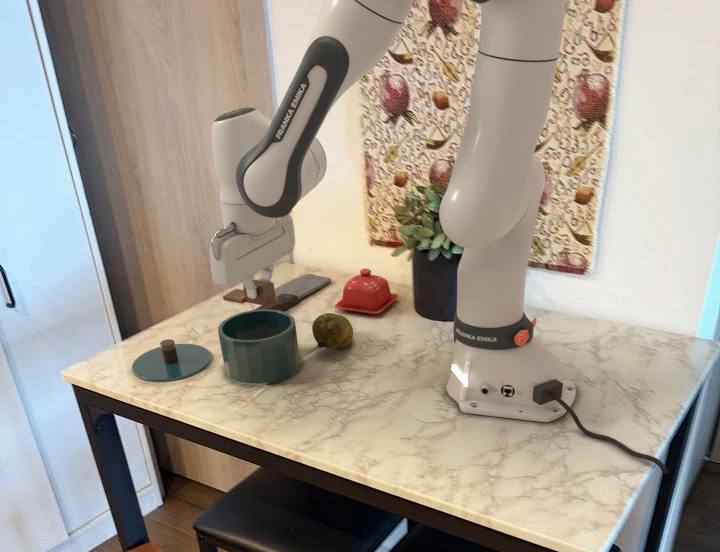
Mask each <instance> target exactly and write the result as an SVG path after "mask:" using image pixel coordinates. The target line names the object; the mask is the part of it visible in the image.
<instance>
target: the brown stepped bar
mask: <svg viewBox="0 0 720 552" xmlns="http://www.w3.org/2000/svg"><path fill="white" fill-rule="evenodd" d="M252 281H253V283H254V285H255V286H258V287H259V292H260V295H259V296H258V297H256V298H255V299H252V298H249V297H248V296H247V291H246V288H245V287H244V285H243V284H242V287H243V289H241V288H235V289H233V290H231V291H229V292H228V293H226V294H224V295H222V299H223V301H225V302H231V303H237V304H241V305H243V304H245V303H249V304H254V305H259V306H262V305H264V306H270V305H272V304H273V303H275V302H276V297H275V289H276V288H275V283H274V282H272V281H271V282H266V281H260V279H254V280H252Z"/></svg>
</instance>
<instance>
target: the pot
mask: <svg viewBox="0 0 720 552" xmlns="http://www.w3.org/2000/svg"><path fill="white" fill-rule="evenodd" d="M296 325H297V324H296V320H295V317H294V316H293V315H291V314H290V313H288V312H286V311H284V310H282V311H279V310H270V309H263V310H254V309H252V310H247V311H241V312H239V313H236V314H234V315H230V316H229V317H228V318H226V319H224V320H223V321H221V323H219V325H218V327H217V332H218V333H217V334H218V339H219V345H220V350H221V355H222V360H223V365H224V371H225V374H226V375H227V376H228V377H229V378H230V379H231V380H234V381H236V382H239V383H245V384H265V386H269V385H274V384H276V383H277V384H278V383H280V382H283V381H285V380H287V379H289V378H291V377H292V376H294V375H296V373H297V372H298V371H299V369H300V366H301V360H300V351H299V350H300V349H299V342H298V335H297V326H296Z"/></svg>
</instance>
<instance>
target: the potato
mask: <svg viewBox="0 0 720 552" xmlns="http://www.w3.org/2000/svg"><path fill="white" fill-rule="evenodd" d="M311 330H312V331H311V332H312V335H313V338H314V340H315V342H316V343H317V346H318V347H319V348H322V349H323V348H325V349H328V350H336V349H342V348H345V347H347V346H348V345H349V344H350V343H351V342H352V340H353V337H354V327H353V325H352V323H351V322H350V320H349V319H348V318H347V317H346V316H345V315H344V316H343V315H341V314H336V313H332V312H325V313H322V314H320V315H318V316H317V317H316V318H315V320H313V322H312V326H311Z"/></svg>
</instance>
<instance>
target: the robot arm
mask: <svg viewBox="0 0 720 552" xmlns="http://www.w3.org/2000/svg"><path fill="white" fill-rule="evenodd" d="M470 1H471V2H473V3H476V4H478V5H480V6H479V7H480V11H481V12H480V13H481V15H480V16H481V19H480V20H481V21H480V30H479V31H480V32H479V37H478V44H477V53H476V59H475V66H474V72H473V73H474V74H473V82H472V89H471V97H470V104H469V109H468V114H467V118H466V123H465V126H464V129H463V133H462V136H461V140H460V143H459V146H458V150H457V153H456V157H455V161H454V164H453V167H452V172H451V176H450V179H449V182H448V185H447V187H446V190H445V193H444V195H443V197H442V200H441V201H440V205H439V211H438V215H439V216H438V217H439V223H440V226H441V229H442V231H443V233H444V234H445V235H446V237H447V239H449V240H450V241H451V242H452V243H453V244H454V245H457V246H458V247H461V248H462V249H463V251H462V254H461V257H460V260H459V263H458V266H457V272H456V273H457V274H456V275H457V276H456V311H455V313H454V316H453V327H452V333H453V343H454V352H453V358H452V364H451V370H450V374H449V376H448V380H447V383H446V386H445V389H446V392H447V395H448V396H449V397H450V398H451V399H452V400H454V401H455V402H456V403H457V404H458V407H459V410H460V411H461V412H463V413H464V414H472V415H479V416H488V417H497V418H506V419H514V420H522V421H532V422H539V423H551V422H553V421H555V420H558V419H559V418H561V417H563V416H564V415H565V414H566V413H568V414H569V415H570V417H571V418H572V420H573V421H574V423H575V425H576V427H577V428H578V429H579V431H580V432H582V433H583V434H584V435H586V436H588V437H590V438H592V439H593V438H594V439H598V440H603V441H606V442H609V443H611V444H613V445H615V446H616V447H617V448H619V449H621V450H622V451H624V452H626V453H627V454H629V455H631V456H633V457H635V458H639V459H642V460H646V461H649V462H652V463H654V464H655V465H656V466H658V468H659V469H660V470H661V472H662V473H663V474H669V470H668V468H667V467H666V465H665V464H664V463H663V462H662V461H661V460H660V459H658V458H657V457H655V456H653V455H649V454H645V453H641V452H638V451H636V450H633V449H631V448H630V447H628V446H627V445H625V444H624V443H622V442H620V441H619V440H617V439H615V438H613V437H611V436H608V435H605V434H600V433H595V432H593V431H590V430H588V429H587V428H585V426H584V425H583V424H582V422H581V421H580V419H579V417H578V416H577V413H576V412H575V411H574V410H573V409H572V408H571V407H572V406H573V404H574V402H575V400H576V397H577V389H576V385H575V383H574V382H573V381H572V380H569V379H566V378H565V374H564V366H563V362H562V360H561V358H560V357H559V356H558V355H557V354H556V353H554V352H553V351H552V350H550V349H549V348H548V347H547V346H546V345H545V344H544V343H542V342H541V341H540V340H538V339H537V337H535V336H534V330H535V327H536V326H537V317H534V318H533V319H532V320H530V319H529V318H528V316H527V315H526V313H525V311H524V309H525V307H524V306H525V294H526V280H527V271H528V264H529V259H530V255H531V250H532V247H533V241H534V236H535V233H536V226H537V221H538V217H539V216H538V215H539V209H540V203H541V200H542V199H541V198H542V195H543V193H544V188H545V183H546V171H545V167H544V164H543V163H542V161H541V159H540V158H539V156H537V154H536V153H535V151H536V148H537V145H538V142H539V139H540V138H541V137H540V136H541V133H542V131H543V129H544V127H545V124H546V122H547V119H548V114H549V109H550V103H551V98H552V93H553V89H554V83H555V79H556V72H557V68H558V62H559V57H560V53H561V52H560V51H561V47H562V39H563V31H564V21H565V8H566V0H470ZM415 2H416V0H323V3H322V6H321V8H320V10H319V11H320V12H319V13H318V16H317V20H316V22H315V24H314V28H313V30H312V33H311V36H310V38H309V41H308V42H307V46H306V48H305V50H304V54H303V55H302V59H301V62H300V63H299V66H298V68H297V70H296V72H295V74H294V76H293V78H292V80H291V82H290V84H289V85H288V88H287V90H286V92H285V94H284V96H283V98H282V100H281V102H280V104H279V107H278V109H277V111H276V113H275V114H274V117H273V119H271V118H269V117H267V116H265V115H264V114H263V113H262V112H261V111H260V110H259V109H258V108H255V107H242V108H238V109H237V108H236V109H234V110H231V111H229V112H225V113H223V114H220V115H219V116H218V117H216V118H215V119H214V121H213V122H212V125H211V133H210V134H211V138H210V139H211V150H212V151H211V152H212V159H213V167H214V172H215V175H216V178H217V179H218V183H219V203H220V210H221V215H222V222H223V227H222V228H219V229H216V230H215V232H214V235H213V236H212V239H211V240H210V248H209V258H210V260H209V261H210V272H211V278H212V281H213V283H214V284H215V285H216V286H219V287H223V288H229V289H230V288H231V289H232V288H234V287H235V286H237V285H239V284H240V283H241V284H242V286H243V285H244V287H245V288H246V291H247V296H248V297H249V298H252V299H255V298H256V297H258V296H259V295H260V292H259V287H258V286H255V285H254V283H253V281H252V280H255V275H256V274H257V273H259V272H261V274H260V279H259V280H260V281H266V282H272V277H273V273H274V270H275V267H274V263H276V262H277V261H279V260H281V259H283V258H284V257H286V256H288V255H289V254H292V253H293V252H294V249H295V246H296V236H295V235H296V234H295V226H294V220H293V217H292V215H291V214H292V213H293V209H294V208H295V207H296V205H297V204H298V203H299V202H300V201H301V200H302V199H304V197H305V196H307V195H308V194H309V193H310V192H311V191H313V190H314V189H315V188H316V187H317V186H318V185H319V184H320V183H321V181H322V180H323V179H324V177H325V174H326V171H327V164H328V163H327V155H326V152H325V150H324V147H323V145H322V143H321V142H320V141H319V139H318V138H317V136H318V134H319V132H320V130H321V128H322V126H323V124H324V122H325V120H326V118H327V116H328V114H329V113H330V111H331V109H332V108H333V106H334V105H335V104H336V102H338V100H339V99H340V98H341V97H342V96H343V94H345V93H346V91H348V90H349V89H350V88H351V87H352V86H353V85H355V84H356V83H357V82H358V81H360V80H361V79H362V78H363V77H365V75H367V74H368V73H370V71H372V70H373V69H374V68H375V67H376V66H377V65H378V64H379V63H380V61H381V60H382V59H383V57H384V56H385V55H386V54H387V52H388V51H389V50H390V48H391V47H392V45H393V43H394V42H395V40H396V38H397V37H398V35H399V33H400V31H401V29H402V28H403V26H404V24H405V22H406V20H407V18H408V16H409V13H410V12H411V9H412V8H413V6H414V4H415Z"/></svg>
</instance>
